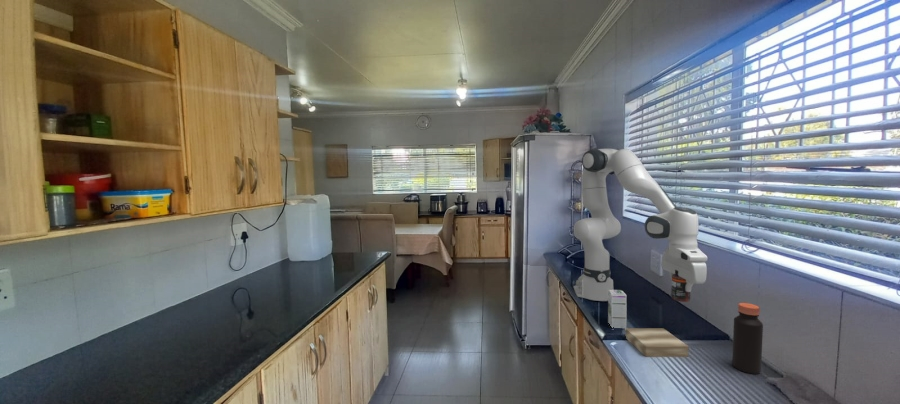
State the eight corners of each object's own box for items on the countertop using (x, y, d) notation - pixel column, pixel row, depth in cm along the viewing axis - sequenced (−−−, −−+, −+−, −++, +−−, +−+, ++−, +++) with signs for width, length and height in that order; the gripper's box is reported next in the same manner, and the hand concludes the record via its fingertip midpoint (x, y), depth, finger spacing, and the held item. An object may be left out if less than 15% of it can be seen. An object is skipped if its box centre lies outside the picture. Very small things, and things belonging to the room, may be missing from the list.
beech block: (625, 338, 127) (625, 328, 127) (663, 338, 127) (663, 328, 127) (646, 358, 113) (646, 346, 113) (688, 358, 113) (688, 346, 113)
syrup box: (627, 330, 133) (627, 294, 132) (610, 329, 134) (611, 293, 133) (622, 324, 138) (623, 289, 138) (607, 323, 140) (607, 289, 139)
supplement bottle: (687, 297, 129) (688, 268, 128) (692, 303, 123) (693, 272, 123) (669, 295, 131) (670, 267, 130) (673, 301, 125) (674, 271, 125)
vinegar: (730, 360, 110) (732, 300, 109) (757, 366, 107) (760, 303, 106) (734, 370, 104) (737, 307, 103) (763, 376, 101) (766, 311, 100)
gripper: (657, 245, 136) (656, 279, 137) (692, 258, 116) (690, 297, 117) (673, 245, 136) (671, 279, 137) (711, 258, 116) (709, 297, 117)
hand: (680, 287), depth 127 cm, fingers closed on supplement bottle, 6 cm apart
